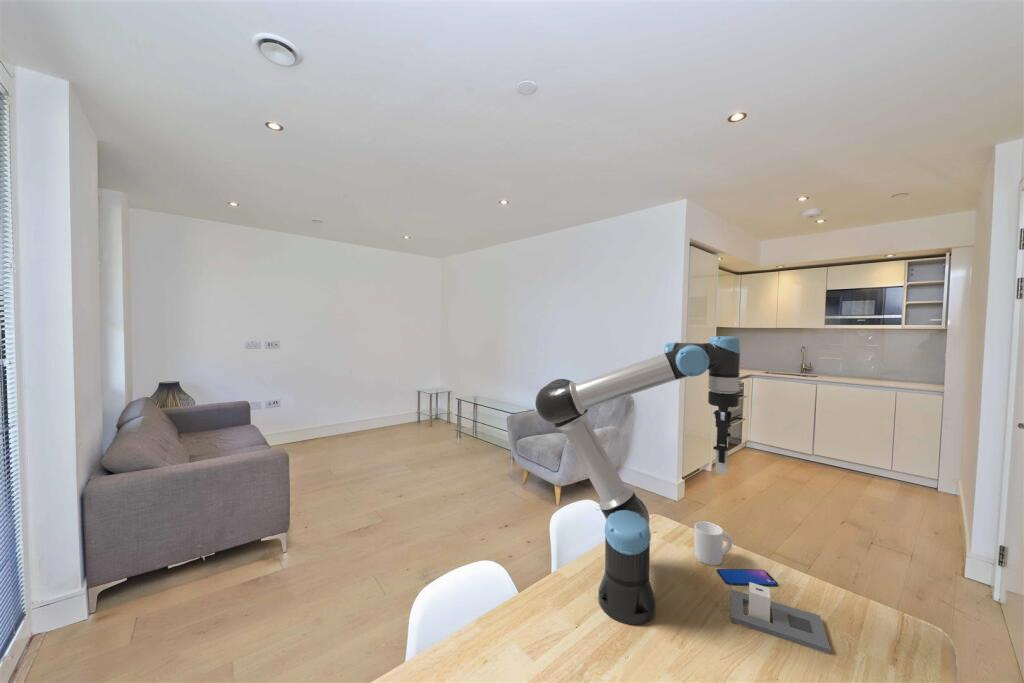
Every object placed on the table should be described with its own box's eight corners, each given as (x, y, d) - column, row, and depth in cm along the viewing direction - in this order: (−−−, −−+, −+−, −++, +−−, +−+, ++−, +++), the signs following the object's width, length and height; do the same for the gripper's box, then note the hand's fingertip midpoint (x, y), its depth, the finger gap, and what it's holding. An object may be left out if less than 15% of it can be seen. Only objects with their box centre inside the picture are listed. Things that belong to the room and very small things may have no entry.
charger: (748, 617, 100) (749, 591, 100) (748, 607, 104) (749, 581, 104) (769, 624, 98) (770, 597, 97) (768, 613, 102) (769, 587, 101)
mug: (724, 550, 130) (725, 521, 129) (739, 566, 121) (740, 534, 121) (689, 551, 130) (690, 521, 129) (702, 566, 121) (702, 534, 121)
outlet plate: (731, 621, 99) (731, 616, 99) (731, 593, 109) (731, 588, 109) (830, 654, 89) (830, 649, 89) (819, 619, 99) (820, 615, 99)
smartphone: (715, 568, 120) (764, 569, 119) (715, 571, 120) (764, 572, 119) (727, 584, 113) (779, 585, 112) (727, 587, 113) (779, 587, 112)
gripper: (739, 399, 95) (737, 484, 96) (738, 386, 116) (736, 454, 117) (706, 397, 98) (704, 478, 99) (710, 384, 120) (709, 451, 121)
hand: (721, 465), depth 108 cm, fingers open, 13 cm apart
